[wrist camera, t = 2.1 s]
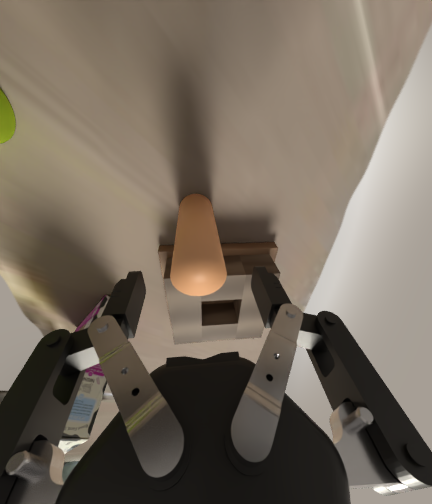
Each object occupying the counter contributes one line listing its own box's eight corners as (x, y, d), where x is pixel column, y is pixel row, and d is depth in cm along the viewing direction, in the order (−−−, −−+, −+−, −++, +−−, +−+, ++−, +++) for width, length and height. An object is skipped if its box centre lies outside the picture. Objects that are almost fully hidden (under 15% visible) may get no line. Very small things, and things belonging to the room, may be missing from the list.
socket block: (159, 245, 26) (152, 272, 21) (274, 242, 27) (290, 266, 23) (171, 318, 35) (168, 348, 30) (256, 312, 37) (265, 340, 32)
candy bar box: (104, 292, 30) (32, 436, 16) (133, 304, 32) (92, 440, 19) (74, 327, 34) (-3, 466, 20) (102, 336, 36) (49, 466, 23)
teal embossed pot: (91, 462, 92) (79, 503, 82) (72, 466, 93) (58, 508, 83) (75, 460, 86) (61, 503, 76) (56, 464, 87) (39, 508, 77)
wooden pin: (178, 193, 22) (167, 255, 12) (212, 193, 22) (228, 253, 13) (180, 224, 24) (173, 297, 15) (211, 224, 25) (225, 294, 15)
